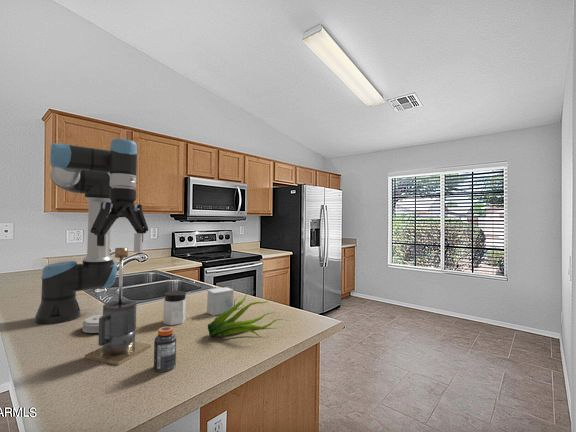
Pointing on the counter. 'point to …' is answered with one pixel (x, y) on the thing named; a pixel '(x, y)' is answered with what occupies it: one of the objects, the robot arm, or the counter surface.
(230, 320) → the decorative plant
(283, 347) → the counter surface
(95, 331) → the white round disc
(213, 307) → the skincare box
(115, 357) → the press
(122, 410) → the counter surface
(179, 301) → the jar
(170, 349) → the pill bottle
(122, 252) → the plunger
